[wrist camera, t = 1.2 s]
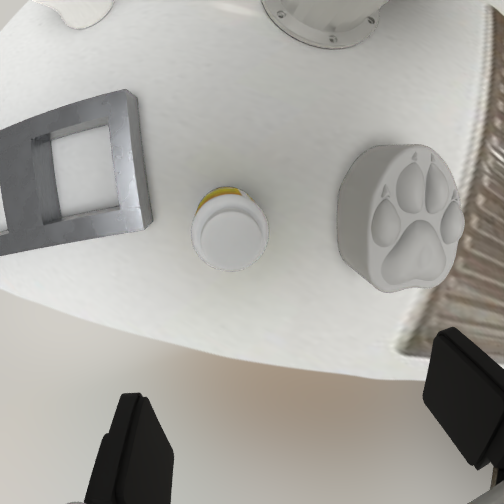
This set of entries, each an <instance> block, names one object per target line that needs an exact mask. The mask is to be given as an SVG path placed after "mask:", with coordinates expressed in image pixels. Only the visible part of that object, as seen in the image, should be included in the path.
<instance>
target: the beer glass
mask: <svg viewBox="0 0 504 504" xmlns="http://www.w3.org/2000/svg"><path fill="white" fill-rule="evenodd" d="M32 1H34V2H37V3H39V4H42V5H44V6H47V7H49V8H52V9H54V10H55V11H57V12H58V13H59V15H60V16H61V18H62V20H63V22H64V23H65V24H66V25H67V26H68V27H70V28H73V29H83V28H87V27H90V26H92V25H94V24H96V23H97V22H99V21H100V20H101V19H102V18H104V17H105V16H106V14H107V13H108V12H109V11H110V9H111V7H112V5H113V3H114V0H32Z"/></svg>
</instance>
